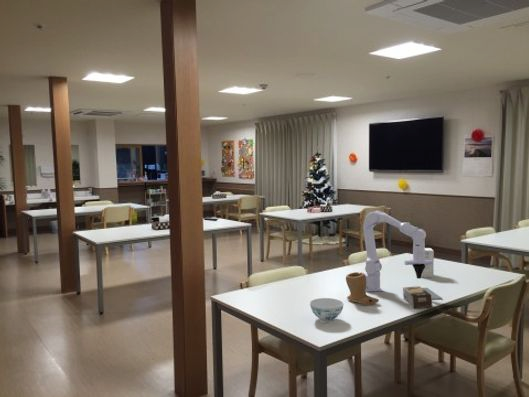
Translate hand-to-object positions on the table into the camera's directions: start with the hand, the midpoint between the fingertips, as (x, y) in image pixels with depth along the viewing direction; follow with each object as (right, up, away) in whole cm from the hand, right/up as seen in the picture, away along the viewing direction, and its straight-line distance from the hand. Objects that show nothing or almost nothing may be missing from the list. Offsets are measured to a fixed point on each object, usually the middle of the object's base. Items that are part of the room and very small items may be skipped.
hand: (418, 278), depth 228 cm
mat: (+5, -9, +5) cm, 12 cm away
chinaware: (-53, -13, -32) cm, 63 cm away
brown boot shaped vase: (-32, -11, -7) cm, 35 cm away
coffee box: (-5, -7, -3) cm, 9 cm away
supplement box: (+19, -7, +44) cm, 49 cm away
